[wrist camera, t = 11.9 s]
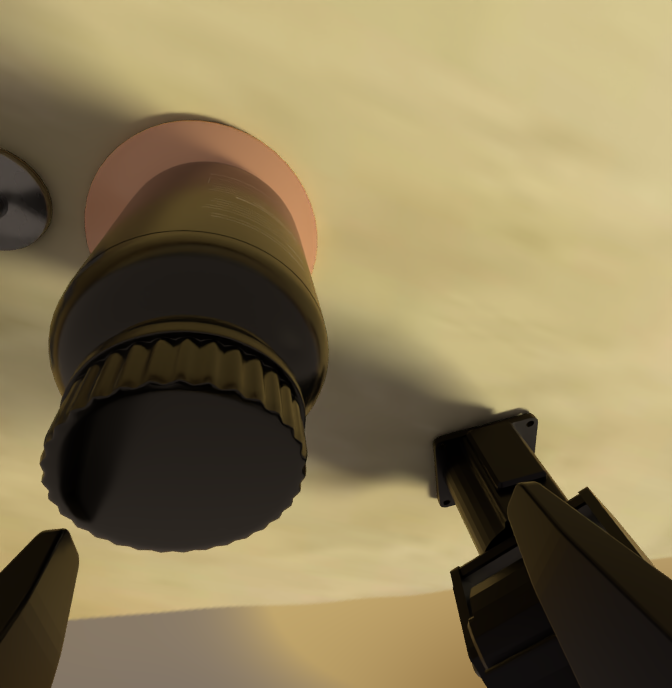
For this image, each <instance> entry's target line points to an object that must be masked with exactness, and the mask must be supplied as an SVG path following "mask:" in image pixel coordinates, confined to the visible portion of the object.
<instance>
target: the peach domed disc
mask: <svg viewBox="0 0 672 688" xmlns="http://www.w3.org/2000/svg"><path fill="white" fill-rule="evenodd" d="M202 161H208V162H218V163H224V164H228V165H232V166H235V167H238V168H240V169H243V170H245V171H247V172H249V173H251V174H253V175H255V176H256V177H258V178H259V179H261V180H262V181H263V182H265V183H266V184H267V185H269V186H270V187H271V188H272V189H273V190H274V191H275V192H276V193H277V194H278V196H279V197H280V198H281V199H282V201H283V202H284V203H285V205H286V206H287V208H288V210H289V212H290V213H291V215H292V217H293V220H294V222H295V225H296V228H297V230H298V233H299V236H300V239H301V243H302V246H303V250H304V253H305V257H306V260H307V264H308V267H309V270H310V274H312V271H313V267H314V264H315V260H316V253H317V228H316V221H315V217H314V213H313V209H312V206H311V203H310V201H309V199H308V196H307V194H306V192H305V189H304V188H303V186H302V184H301V183H300V181H299V179H298V177H297V176H296V175H295V173H294V172H293V171H292V169H291V168H290V167H289V165H288V164H287V163H286V162H285V161H284V160H283V159H282V158H281V157H280V156H279V155H278V154H277V153H276V152H275V151H273V150H272V149H271V148H269V147H268V146H267V145H266V144H264V143H263V142H261V141H260V140H258V139H256V138H255V137H253V136H251V135H250V134H248V133H245V132H243V131H241V130H238V129H236V128H234V127H230V126H227V125H223V124H220V123H216V122H209V121H201V120H180V121H174V122H167V123H163V124H160V125H156V126H153V127H150V128H148V129H146V130H143V131H141V132H139V133H137V134H135V135H134V136H132V137H131V138H129V139H128V140H127V141H125V142H124V143H122V144H121V145H119V146H118V147H117V148H116V149H115V150H114V151H113V152H112V153H111V154H110V155H109V156H108V157H107V159H106V160H105V161H104V163H103V164H102V165H101V167H100V168H99V169H98V171H97V173H96V175H95V177H94V179H93V181H92V183H91V186H90V190H89V193H88V196H87V201H86V207H85V233H86V239H87V244H88V248H89V251H90V254H91V253H92V252H93V250H94V249H95V248H96V246H97V245H98V244H99V242H100V241H101V240H102V238H103V237H104V235H105V234H106V233H107V231H108V230H109V229H110V227H111V226H112V225H113V223H114V222H115V221H116V219H117V218H118V217H119V215H120V214H121V213H122V211H123V210H124V208H125V207H126V206H127V204H128V203H129V202H130V201H131V199H132V198H133V197H134V195H135V194H136V193H137V192H138V191H139V190H140V189H141V188H142V187H143V186H144V185H145V184H146V183H147V182H148V181H149V180H151V179H152V178H153V177H154V176H156V175H158V174H159V173H161V172H163V171H165V170H167V169H169V168H171V167H174V166H177V165H180V164H185V163H190V162H202Z"/></svg>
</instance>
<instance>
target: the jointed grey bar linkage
mask: <svg viewBox="0 0 672 688" xmlns="http://www.w3.org/2000/svg"><path fill="white" fill-rule="evenodd" d="M51 218H52V203H51V198H50V195H49V192H48V190H47V188H46V186H45V184H44V183H43V181H42V180H41V178H40V177H39V176H38V174H37V173H36V172H35V171H34V170H33V169H32V168H31V167H30V166H29V165H28V164H27V163H25V162H24V161H23V160H21V159H20V158H19V157H17V156H15V155H13V154H12V153H10V152H8V151H5V150H3V149H0V250H3V251H8V250H16V249H20V248H24V247H26V246H28V245H30V244H31V243H33V242H34V241H35V240H37V239H38V238H39V237H40V236H41V235H42V234H43V233H44V232H45V231H46V229H47V228H48V226H49V224H50V221H51Z"/></svg>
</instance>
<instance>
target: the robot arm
mask: <svg viewBox="0 0 672 688" xmlns="http://www.w3.org/2000/svg"><path fill="white" fill-rule="evenodd" d="M537 426H538V420H537V418H536V417H535V416H534V415H533V414H531V413H528V414H524V415H520V416H516V417H512V418H509V419H505V420H501V421H497V422H493V423H490V424H486V425H482V426H478V427H474V428H470V429H467V430H463V431H459V432H455V433H451V434H447V435H444V436H440V437H438V438H436V439H435V440H434V442H433V448H434V461H435V473H436V486H437V498H438V502H439V504H440V506H441V507H449V506H453V505H456V506H457V508H458V510H459V513H460V515H461V517H462V519H463V521H464V523H465V525H466V527H467V529H468V532H469V534H470V536H471V538H472V540H473V542H474V544H475V546H476V549H477V551H478V553H479V556H477V557H476V558H474V559H473V560H471V561H469V562H468V563H466V564H464V565H463V566H461V567H459V566H458V567H456V568H454V569H453V570H451V571H450V574H451V578H452V582H453V590H454V594H455V599H456V603H457V608H458V612H459V617H460V621H461V625H462V630H463V634H464V638H465V643H466V647H467V652H468V656H469V658H470V661H471V662H472V665H473V668H474V671H475V673H476V674H477V675H478V676H479V677H481V678H482V680H483V682H484V683H485V685H486V686H487V688H672V580H671V579H670V578H669V577H667V576H666V575H664V574H663V573H661V572H660V571H659V570H658V569H656V568H655V567H654V565H653V564H652V562H651V561H650V560H649V558H648V557H647V556H646V555H645V554H644V552H643V551H642V550H641V549H640V547H639V546H638V545H637V544H636V543H635V541H634V540H633V539H632V538H631V536H630V535H629V534H628V533H627V532H626V530H625V529H624V528H623V527H622V525H621V524H620V523H619V522H618V521H617V519H616V518H615V517H614V516H613V515H612V514H611V513H610V512H609V510H608V509H607V508H606V507H605V506H604V505H603V504H602V503H601V501H600V500H599V499H598V498H597V497H596V496H595V495H594V494H593V493H592V491H591V490H590V489H589V488H588V487H586V488H584V489H582V490H581V491H579V492H578V493H579V494H578V495H576V496H575V497H573V498H572V499H570V500H568V499H567V498H566V496H565V495H564V494H563V492H562V491H561V489H560V488H559V487H558V485H557V484H556V483H555V481H554V480H553V479H552V477H551V476H550V474H549V473H548V472H547V470H546V469H545V468H544V466H543V465H542V464H541V462H540V461H539V459H538V458H537V457H536V455H535V454H534V453H535V444H536V435H537ZM78 567H79V555H78V552H77V550H76V547H75V545H74V542H73V540H72V538H71V535H70V533H69V531H68V530H66V529H64V528H62V529H52V530H45V531H42V532H40V533H39V534H38V535H37V536H36V537H35V538H34V539H33V540H32V541H31V542H30V543H29V544H28V545H27V546H26V547H25V548H24V549H23V550H22V551H21V552H20V553H19V554H18V555H17V556H16V557H15V558H14V559H13V560H12V561H11V562H10V563H9V564H8V565H7V566H6V567H5V568H4V569H3V570H2V571H1V572H0V688H51V686H52V683H53V680H54V676H55V673H56V670H57V666H58V663H59V659H60V655H61V651H62V647H63V642H64V637H65V632H66V627H67V622H68V617H69V612H70V607H71V602H72V598H73V593H74V588H75V583H76V578H77V573H78Z"/></svg>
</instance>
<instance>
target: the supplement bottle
mask: <svg viewBox="0 0 672 688" xmlns="http://www.w3.org/2000/svg"><path fill="white" fill-rule="evenodd" d="M49 358H50V365H51V369H52V373H53V376H54V380H55V382H56V384H57V387H58V389H59V392H60V394H61V395H62V400H61V404H60V409H59V411H58V413H57V415H56V417H55V419H54V420H53V422H52V424H51V426H50V428H49V430H48V432H47V434H46V437H45V440H44V451H43V453H42V455H41V458H40V466H41V468H42V470H43V475H42V481H41V482H42V483H43V485H44V486H45V487H46V488H47V489H48V490H49V493H48V499H49V500H50V501H52V502H53V503H54V504H55V505H57V506H58V508H59V512H60V514H61V515H63V516H65V517H67V518H69V519H71V520H72V521H73V523H74V524H75V525H76V526H77V527H78V528H81V529H84V530H87V531H89V532H90V533H91V534H92V535H94V536H95V537H97V538H101V539H106V540H109V541H111V542H112V543H114V544H116V545H121V546H129V547H132V548H134V549H137V550H153V551H157V552H161V553H162V552H170V551H175V552H188V551H192V550H207V549H210V548H213V547H215V546H224V545H228V544H230V543H232V542H234V541H236V540H240V539H245V538H247V537H249V536H250V535H251V534H253V533H254V532H257V531H260V530H263V529H265V528H266V527H267V525H268V524H269V523H270V522H272V521H275V520H276V519H278V518H280V516H281V514H282V512H283V511H284V510H286V509H287V508H289V507H290V506H291V505H292V502H293V498H294V497H295V496H296V495H297V494H298V493H299V492H300V490H301V482H302V481H303V479H304V478H305V476H306V460H307V446H306V440H305V433H304V430H305V421H306V416H307V415H308V413H309V412H310V410H311V409H312V407H313V406H314V404H315V402H316V400H317V398H318V396H319V394H320V392H321V389H322V387H323V384H324V381H325V377H326V373H327V367H328V359H329V348H328V339H327V333H326V328H325V323H324V319H323V315H322V312H321V308H320V305H319V301H318V298H317V295H316V291H315V288H314V284H313V281H312V277H311V274H310V270H309V267H308V264H307V260H306V257H305V253H304V250H303V246H302V243H301V239H300V236H299V233H298V230H297V228H296V225H295V222H294V220H293V217H292V215H291V213H290V212H289V210H288V208H287V206H286V205H285V203H284V202H283V201H282V199H281V198H280V197H279V196H278V194H277V193H276V192H275V191H274V190H273V189H272V188H271V187H270V186H269V185H267V184H266V183H265V182H263V181H262V180H261V179H259V178H258V177H256V176H255V175H253V174H251V173H249V172H247V171H245V170H243V169H240V168H238V167H235V166H232V165H228V164H224V163H218V162H208V161H202V162H190V163H185V164H180V165H177V166H174V167H171V168H169V169H167V170H165V171H163V172H161V173H159V174H158V175H156V176H154V177H153V178H152V179H151V180H149V181H148V182H147V183H146V184H145V185H144V186H143V187H142V188H141V189H140V190H139V191H138V192H137V193H136V194H135V195H134V197H133V198H132V199H131V201H130V202H129V203H128V204H127V206H126V207H125V208H124V210H123V211H122V213H121V214H120V215H119V217H118V218H117V219H116V221H115V222H114V223H113V225H112V226H111V227H110V229H109V230H108V231H107V233H106V234H105V235H104V237H103V238H102V240H101V241H100V242H99V244H98V245H97V246H96V248H95V249H94V250H93V252H92V253H91V254H90V256H89V257H88V258H87V260H86V261H85V262H84V264H83V265H82V267H81V268H80V269H79V271H78V272H77V273H76V275H75V276H74V277H73V279H72V280H71V282H70V283H69V285H68V287H67V288H66V290H65V292H64V293H63V295H62V297H61V299H60V300H59V302H58V305H57V307H56V309H55V312H54V314H53V318H52V321H51V325H50V332H49Z"/></svg>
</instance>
